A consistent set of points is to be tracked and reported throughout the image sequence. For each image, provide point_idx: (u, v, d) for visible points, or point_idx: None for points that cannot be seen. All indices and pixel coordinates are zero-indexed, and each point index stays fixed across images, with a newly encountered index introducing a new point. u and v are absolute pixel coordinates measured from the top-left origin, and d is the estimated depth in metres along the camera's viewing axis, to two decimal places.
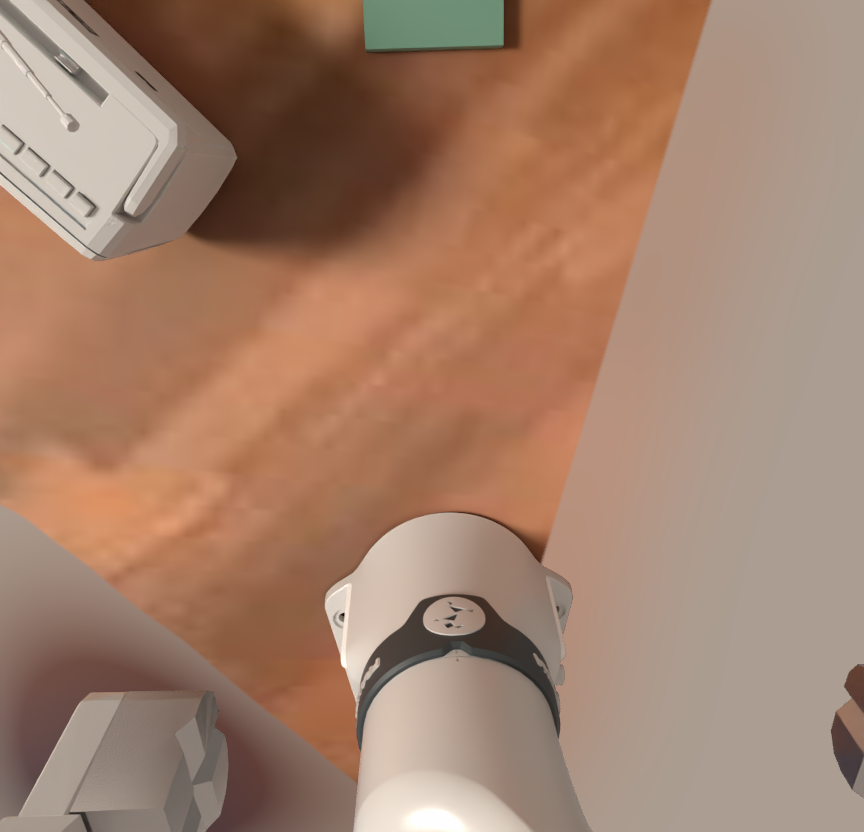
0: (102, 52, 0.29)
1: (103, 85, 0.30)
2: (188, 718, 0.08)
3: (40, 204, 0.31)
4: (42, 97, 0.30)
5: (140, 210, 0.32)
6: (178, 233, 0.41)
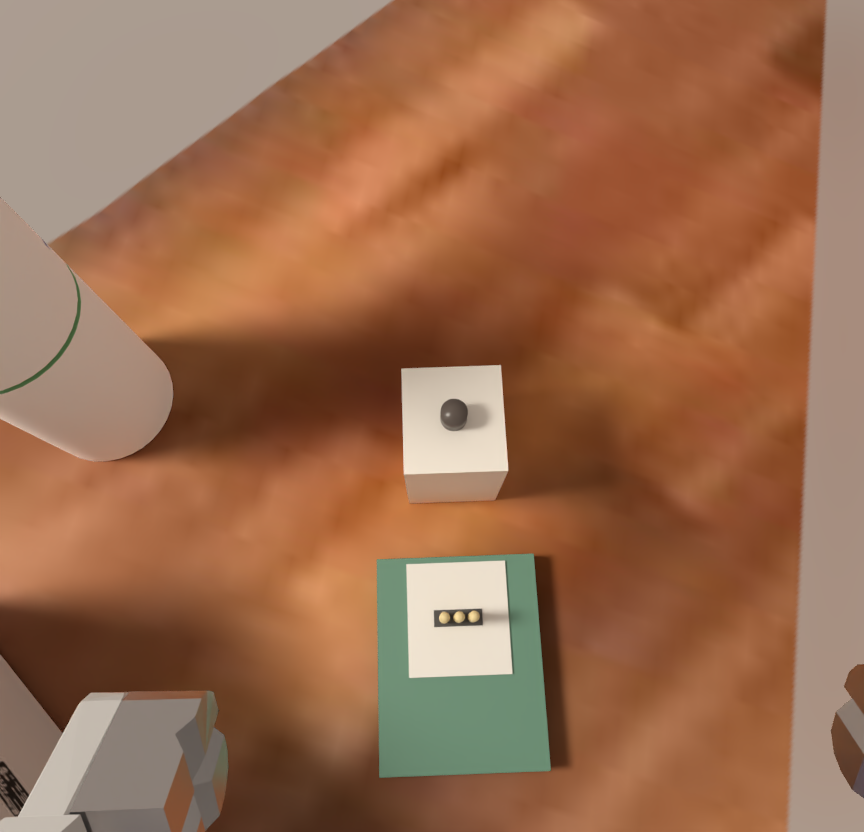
0: None
1: None
2: (188, 718, 0.08)
3: None
4: None
5: None
6: None
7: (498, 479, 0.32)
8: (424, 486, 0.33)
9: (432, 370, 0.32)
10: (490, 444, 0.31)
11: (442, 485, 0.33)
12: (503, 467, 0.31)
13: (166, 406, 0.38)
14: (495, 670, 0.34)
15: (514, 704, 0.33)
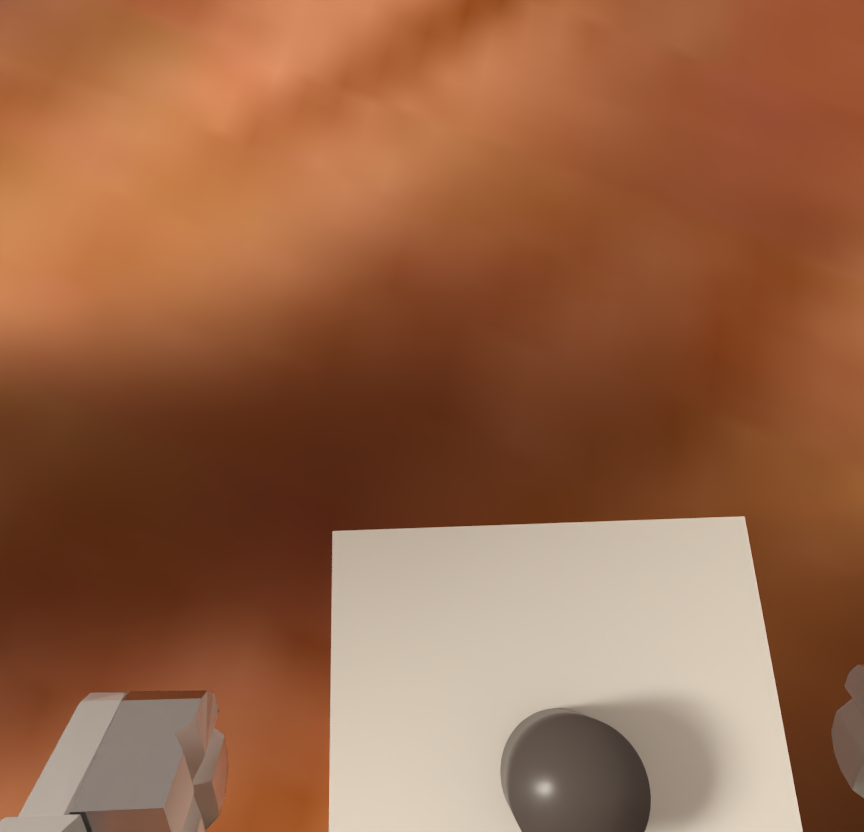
0: None
1: None
2: (188, 718, 0.08)
3: None
4: None
5: None
6: None
7: None
8: None
9: (462, 540, 0.08)
10: None
11: None
12: None
13: None
14: None
15: None
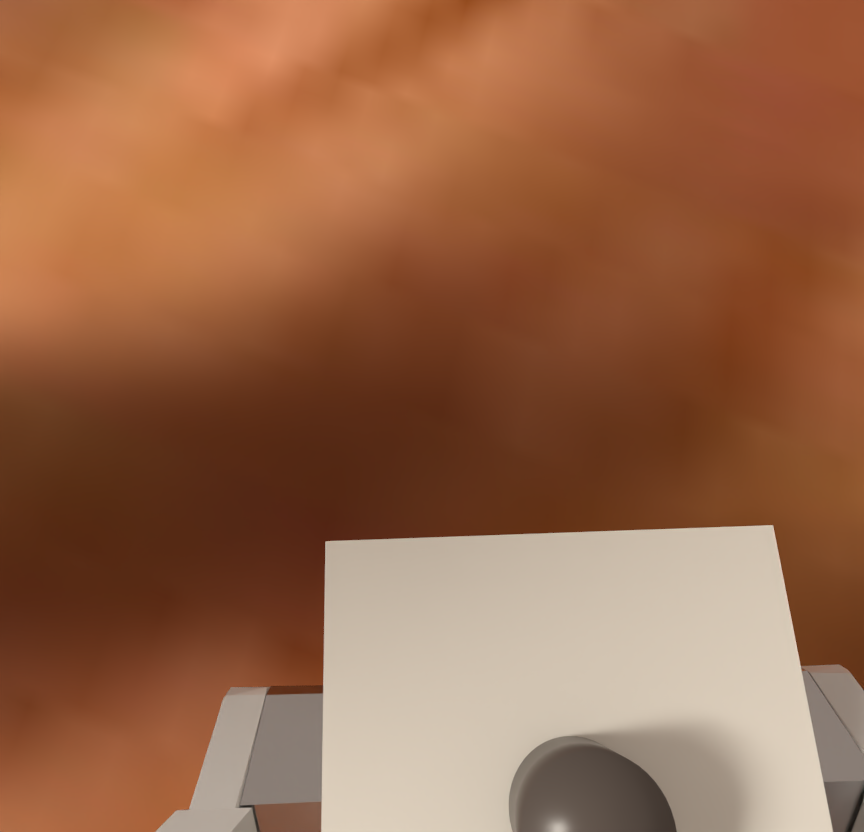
0: None
1: None
2: None
3: None
4: None
5: None
6: None
7: None
8: None
9: (466, 551, 0.07)
10: None
11: None
12: None
13: None
14: None
15: None
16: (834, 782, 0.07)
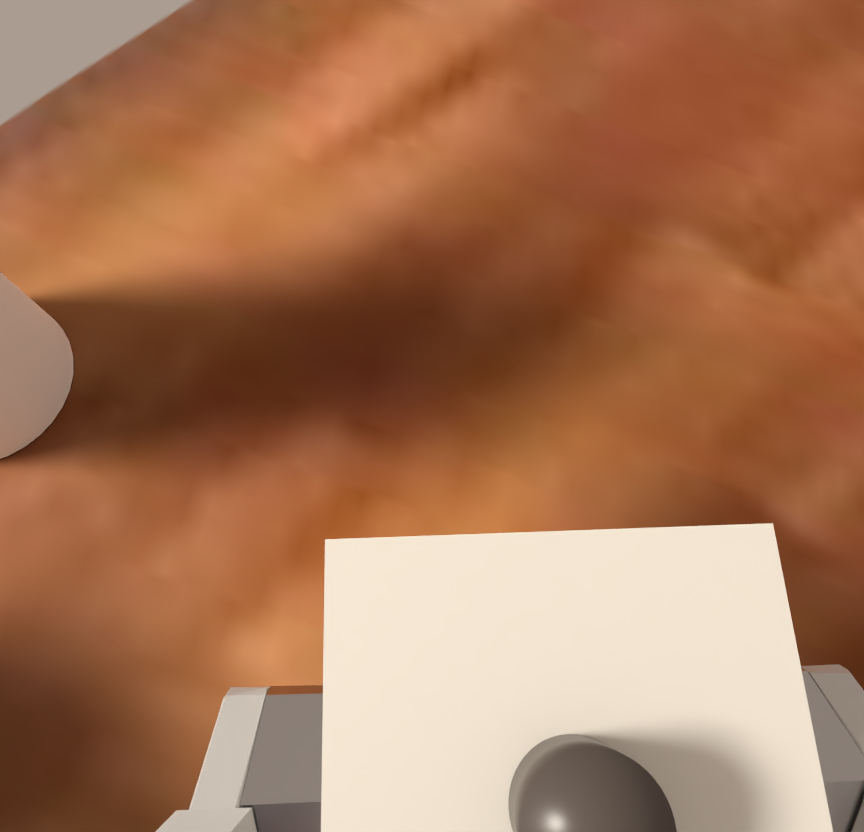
0: None
1: None
2: None
3: None
4: None
5: None
6: None
7: None
8: None
9: (465, 549, 0.07)
10: None
11: None
12: None
13: (60, 388, 0.27)
14: None
15: None
16: (834, 782, 0.07)
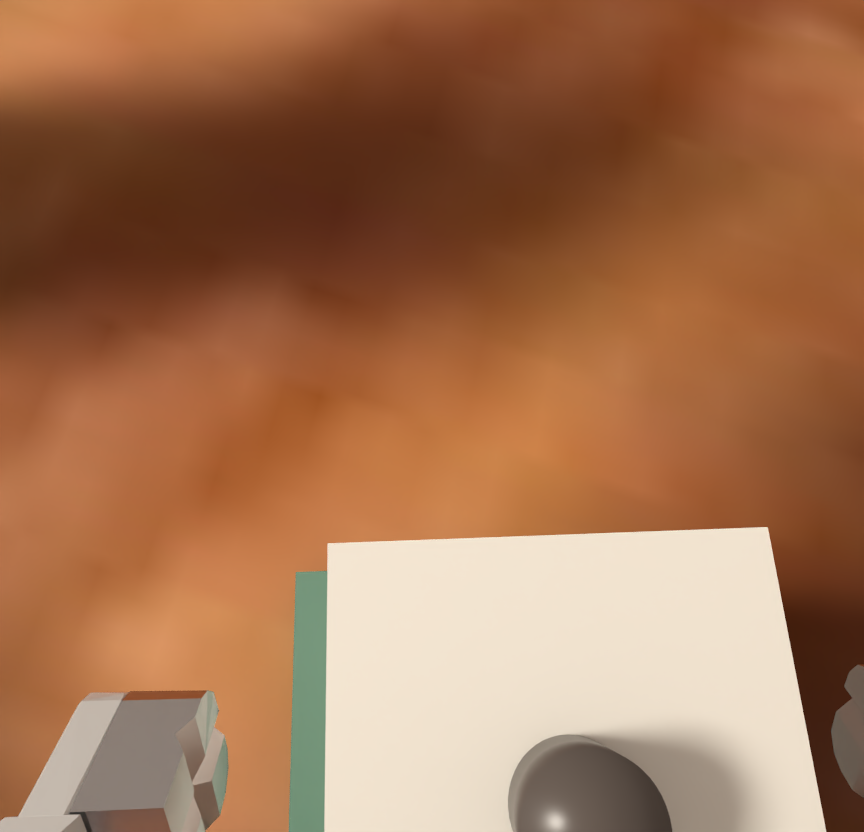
0: None
1: None
2: (188, 718, 0.08)
3: None
4: None
5: None
6: None
7: None
8: None
9: (466, 553, 0.07)
10: None
11: None
12: None
13: None
14: None
15: None
16: None
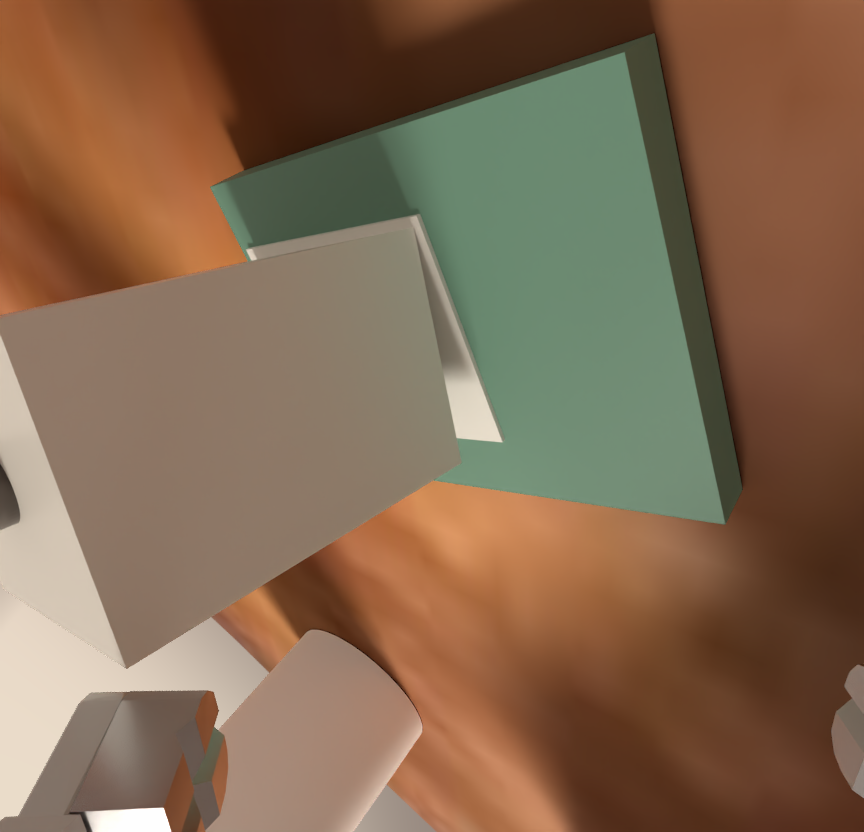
0: None
1: None
2: (188, 718, 0.08)
3: None
4: None
5: None
6: None
7: (150, 307, 0.09)
8: (279, 515, 0.11)
9: None
10: None
11: (258, 466, 0.10)
12: None
13: (332, 649, 0.30)
14: (428, 258, 0.13)
15: (481, 200, 0.11)
16: None
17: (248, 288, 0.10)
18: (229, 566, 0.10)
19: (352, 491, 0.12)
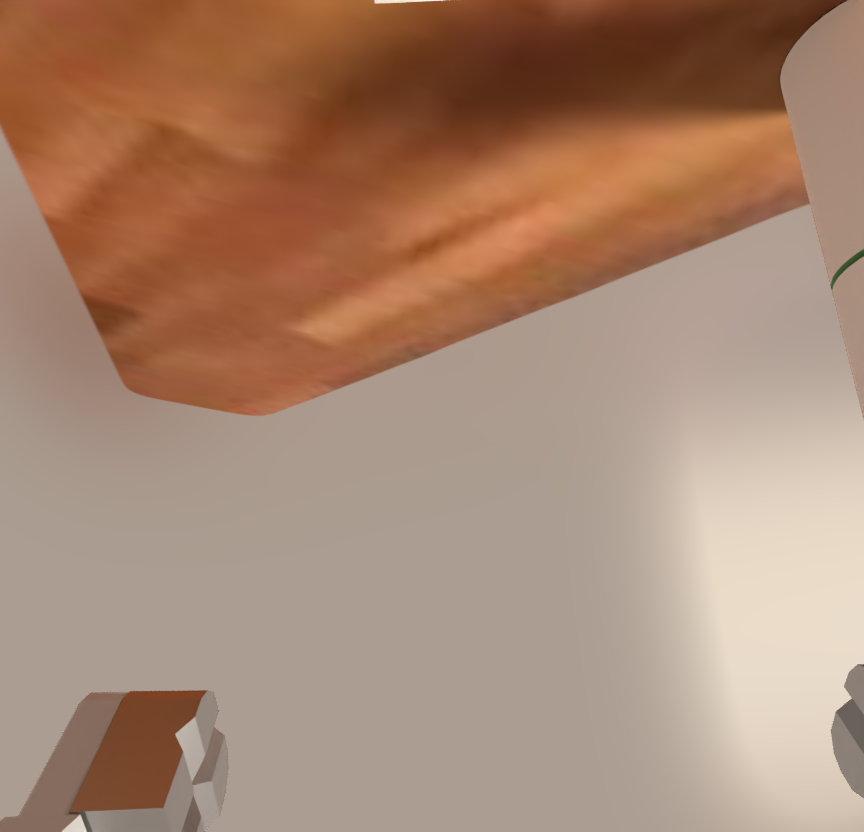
0: None
1: None
2: (188, 718, 0.08)
3: None
4: None
5: None
6: None
7: None
8: None
9: None
10: None
11: None
12: None
13: (801, 50, 0.30)
14: None
15: None
16: None
17: None
18: None
19: None
